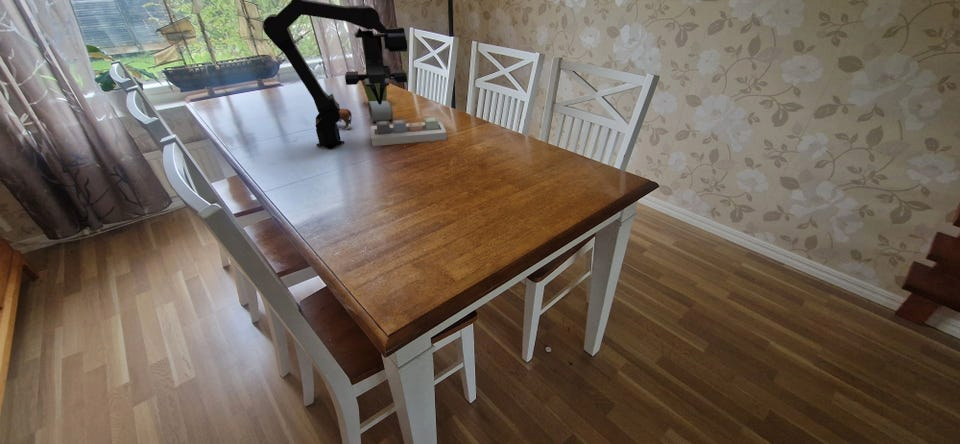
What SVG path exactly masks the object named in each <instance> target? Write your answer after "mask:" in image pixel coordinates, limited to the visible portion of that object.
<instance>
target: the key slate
mask: <svg viewBox="0 0 960 444" xmlns="http://www.w3.org/2000/svg"><path fill="white" fill-rule="evenodd" d="M406 124H407V122H406V119H396V120H392V125H393V128H394V133H402V132H407V128H406Z"/></svg>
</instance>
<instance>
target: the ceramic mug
mask: <svg viewBox="0 0 960 444" xmlns="http://www.w3.org/2000/svg"><path fill="white" fill-rule="evenodd" d="M367 106H368V107H367V108H368V114H369V119H370V122H372V123H376V122H379V121H391V120H392V119H393V118H394V112H393V110H394V109H393V106H392V103H391V102H390V101H382V104H381V105H379V104H378V102H377V101H368V105H367Z"/></svg>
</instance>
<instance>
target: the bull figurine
mask: <svg viewBox="0 0 960 444" xmlns="http://www.w3.org/2000/svg"><path fill="white" fill-rule="evenodd" d="M339 113H340V119H339V121H338V122H339V123H341V122H342V121H344V123H345V125H344V128H345V131H347V130H349V127H350V125H351V124H352V117H353V116H352V111H351V110H350V109H348V108H340V111H339Z"/></svg>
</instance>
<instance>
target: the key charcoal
mask: <svg viewBox="0 0 960 444" xmlns="http://www.w3.org/2000/svg"><path fill="white" fill-rule="evenodd" d="M375 123H376V126H377V131H378V134H390V133H391V132H390V125H391V124H390V120H387V121H379V122H375Z"/></svg>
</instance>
